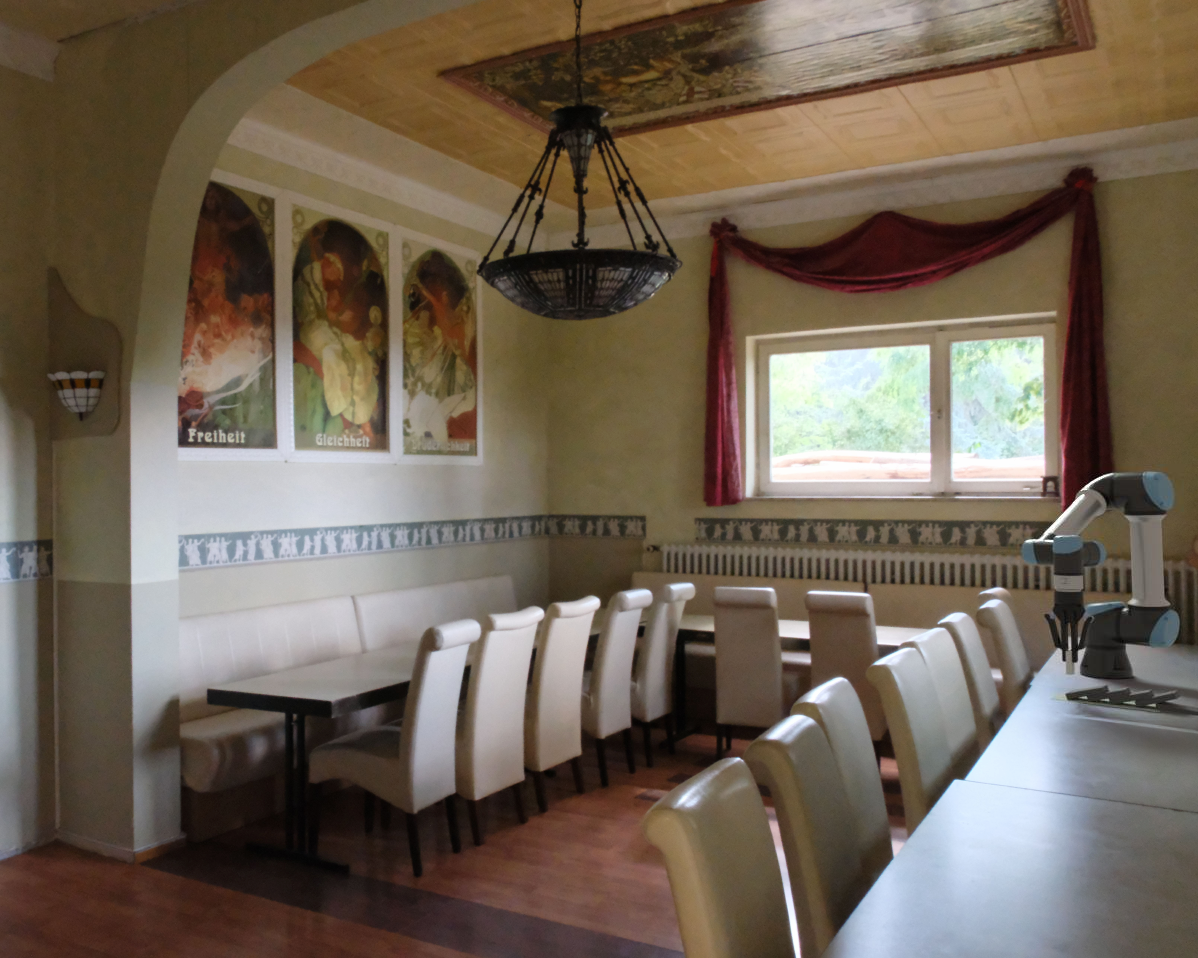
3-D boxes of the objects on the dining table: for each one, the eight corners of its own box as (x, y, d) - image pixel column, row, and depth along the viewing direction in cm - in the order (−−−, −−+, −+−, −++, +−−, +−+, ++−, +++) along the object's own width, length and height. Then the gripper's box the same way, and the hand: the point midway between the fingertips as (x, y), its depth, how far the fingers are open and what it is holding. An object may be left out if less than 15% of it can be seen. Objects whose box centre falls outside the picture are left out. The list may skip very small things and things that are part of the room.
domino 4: (1138, 698, 265) (1177, 689, 259) (1140, 704, 265) (1180, 695, 259) (1134, 701, 261) (1174, 692, 255) (1136, 707, 261) (1176, 698, 255)
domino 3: (1113, 695, 269) (1151, 689, 263) (1115, 701, 269) (1154, 695, 263) (1108, 698, 265) (1147, 692, 259) (1110, 704, 265) (1149, 698, 259)
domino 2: (1091, 693, 273) (1129, 686, 266) (1093, 698, 272) (1131, 692, 266) (1086, 696, 269) (1124, 689, 263) (1088, 701, 269) (1126, 695, 262)
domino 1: (1070, 690, 276) (1107, 684, 270) (1072, 696, 276) (1109, 690, 270) (1065, 693, 272) (1102, 687, 266) (1067, 699, 272) (1104, 693, 266)
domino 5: (1160, 700, 261) (1203, 708, 255) (1159, 706, 261) (1202, 714, 255) (1155, 703, 258) (1199, 711, 251) (1155, 709, 258) (1198, 718, 251)
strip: (1060, 695, 280) (1060, 693, 280) (1167, 708, 262) (1167, 706, 262) (1051, 700, 273) (1050, 698, 273) (1159, 714, 255) (1159, 711, 255)
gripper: (1040, 589, 276) (1041, 673, 276) (1089, 592, 267) (1091, 678, 267) (1048, 587, 282) (1050, 669, 281) (1097, 590, 273) (1099, 674, 273)
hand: (1070, 673), depth 274 cm, fingers closed
